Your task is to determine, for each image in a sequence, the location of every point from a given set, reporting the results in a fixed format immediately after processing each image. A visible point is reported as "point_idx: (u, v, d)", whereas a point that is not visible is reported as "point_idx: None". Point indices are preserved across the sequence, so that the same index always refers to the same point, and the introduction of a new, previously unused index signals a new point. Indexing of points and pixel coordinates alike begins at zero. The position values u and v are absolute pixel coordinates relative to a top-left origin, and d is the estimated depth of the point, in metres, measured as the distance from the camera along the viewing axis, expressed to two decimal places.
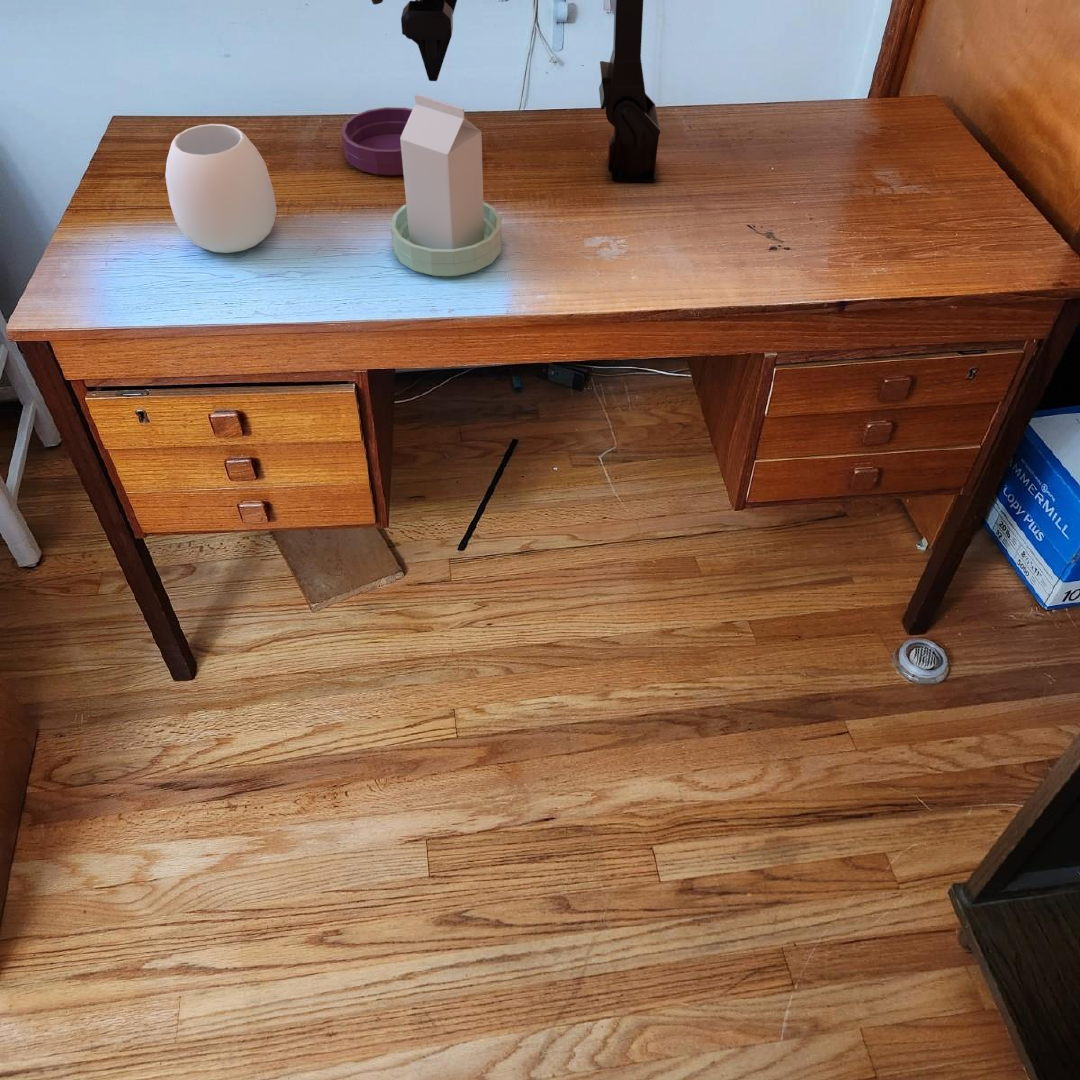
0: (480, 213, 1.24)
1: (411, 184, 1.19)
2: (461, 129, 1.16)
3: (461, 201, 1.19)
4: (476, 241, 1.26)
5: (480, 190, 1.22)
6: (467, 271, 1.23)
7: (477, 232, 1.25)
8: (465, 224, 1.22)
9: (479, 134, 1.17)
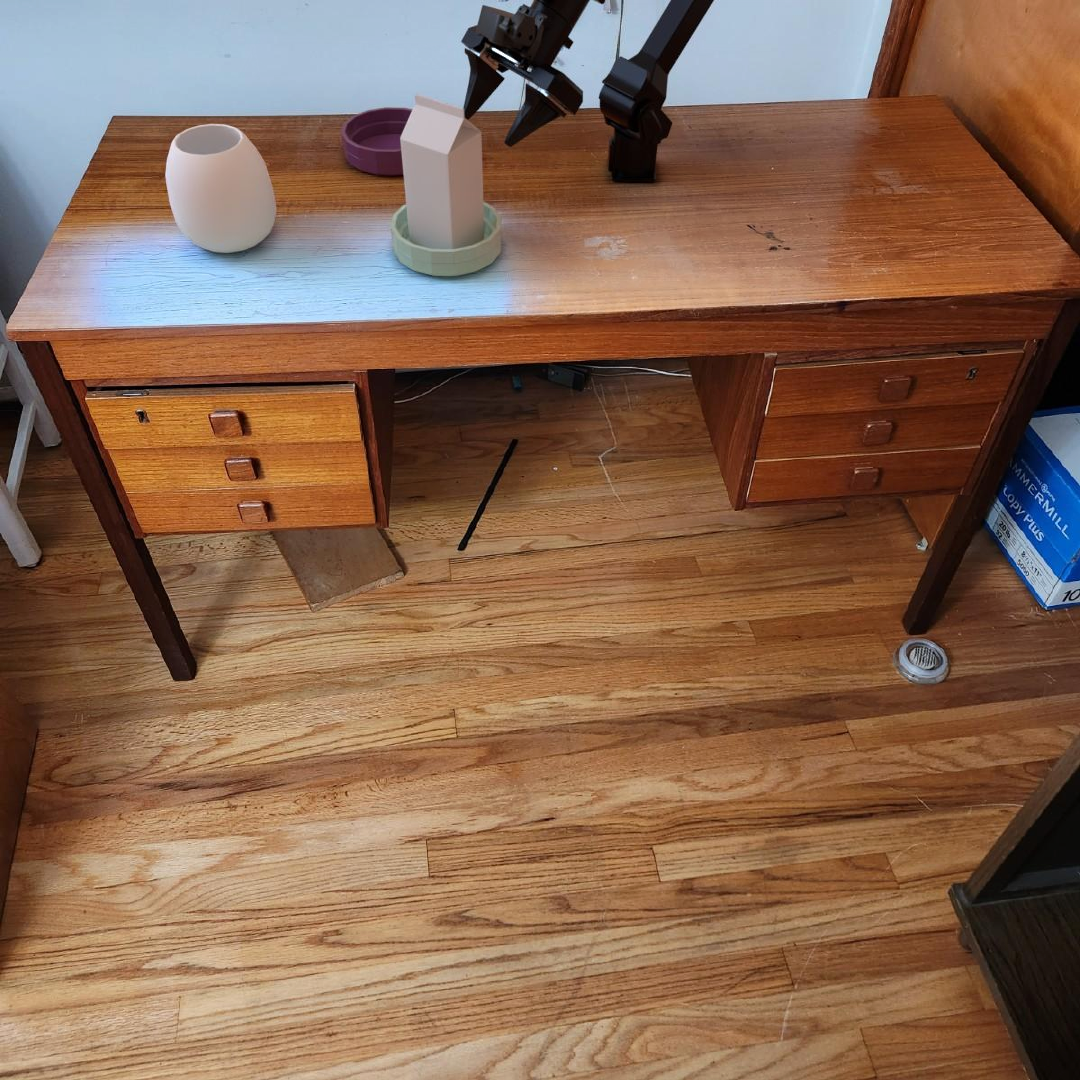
0: (480, 213, 1.24)
1: (411, 184, 1.19)
2: (461, 129, 1.16)
3: (461, 201, 1.19)
4: (476, 241, 1.26)
5: (480, 190, 1.22)
6: (467, 271, 1.23)
7: (477, 232, 1.25)
8: (465, 224, 1.22)
9: (479, 134, 1.17)
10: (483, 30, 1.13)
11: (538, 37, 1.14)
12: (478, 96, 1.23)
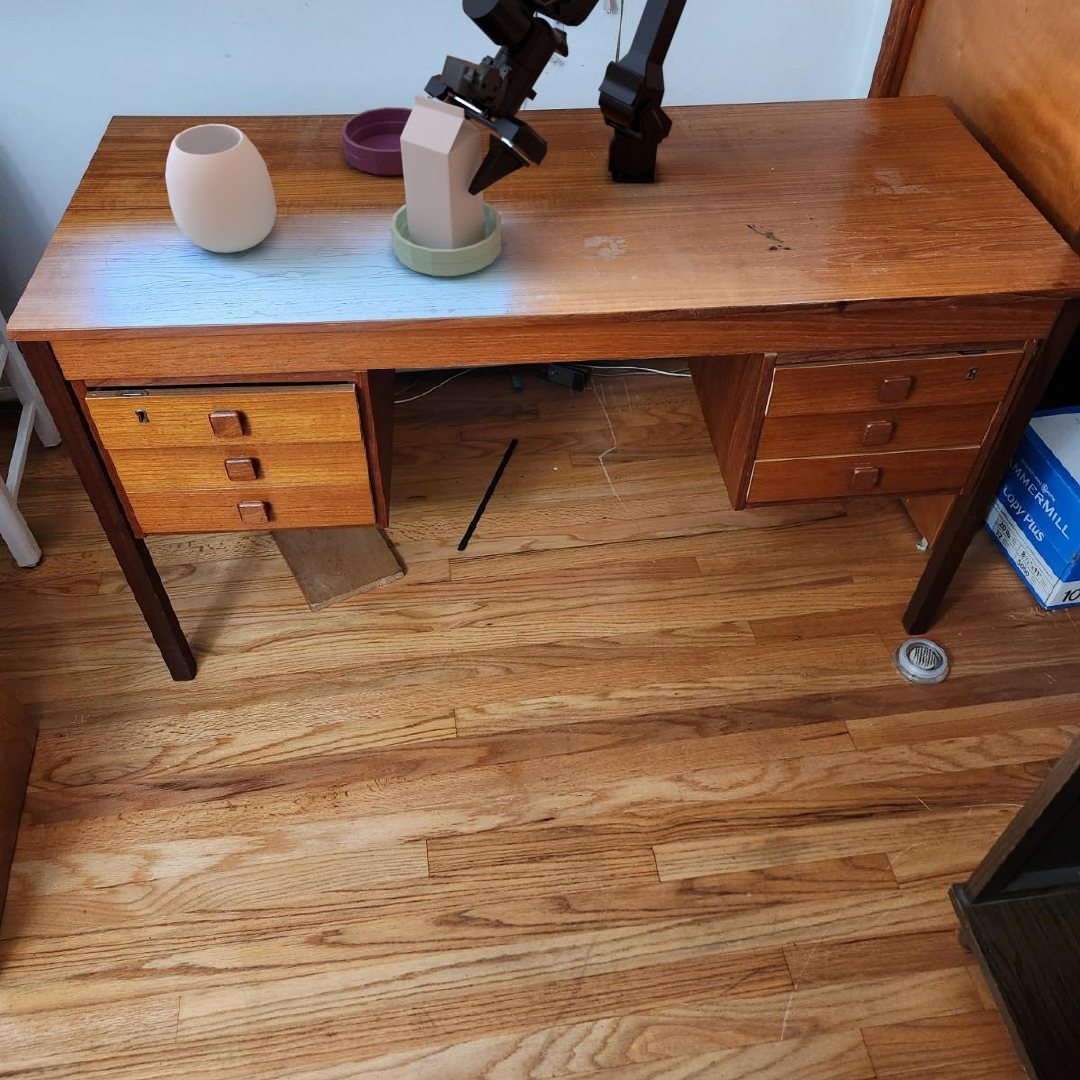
0: (480, 213, 1.24)
1: (411, 184, 1.19)
2: (461, 129, 1.16)
3: (461, 201, 1.19)
4: (476, 241, 1.26)
5: None
6: (467, 271, 1.23)
7: (477, 232, 1.25)
8: (465, 224, 1.22)
9: (479, 134, 1.17)
10: (447, 80, 1.12)
11: (502, 88, 1.14)
12: None
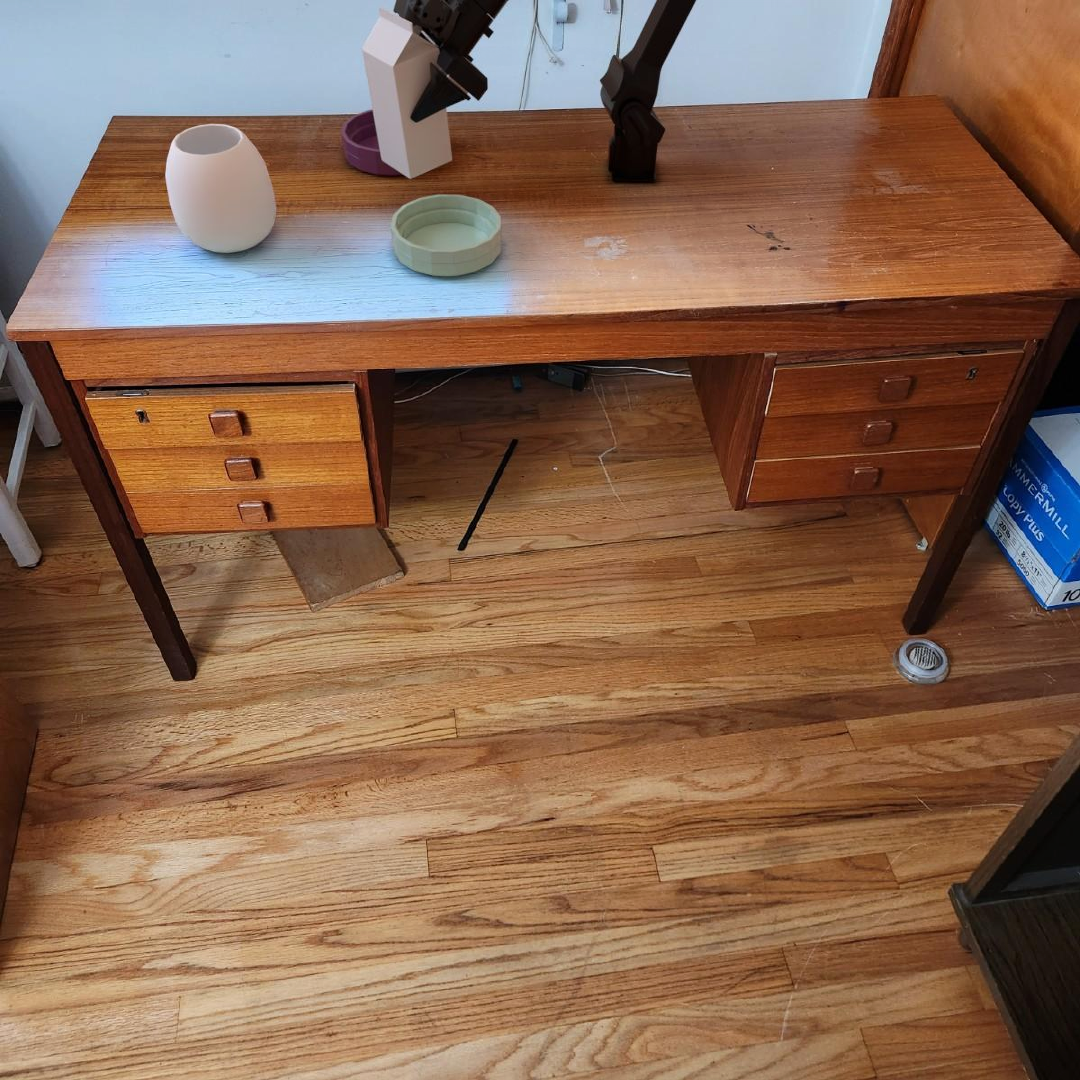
0: (444, 131, 1.28)
1: (374, 95, 1.24)
2: (419, 44, 1.20)
3: None
4: (440, 159, 1.30)
5: None
6: (467, 271, 1.23)
7: (441, 150, 1.29)
8: (423, 140, 1.26)
9: (436, 51, 1.20)
10: (398, 8, 1.17)
11: (451, 21, 1.18)
12: None
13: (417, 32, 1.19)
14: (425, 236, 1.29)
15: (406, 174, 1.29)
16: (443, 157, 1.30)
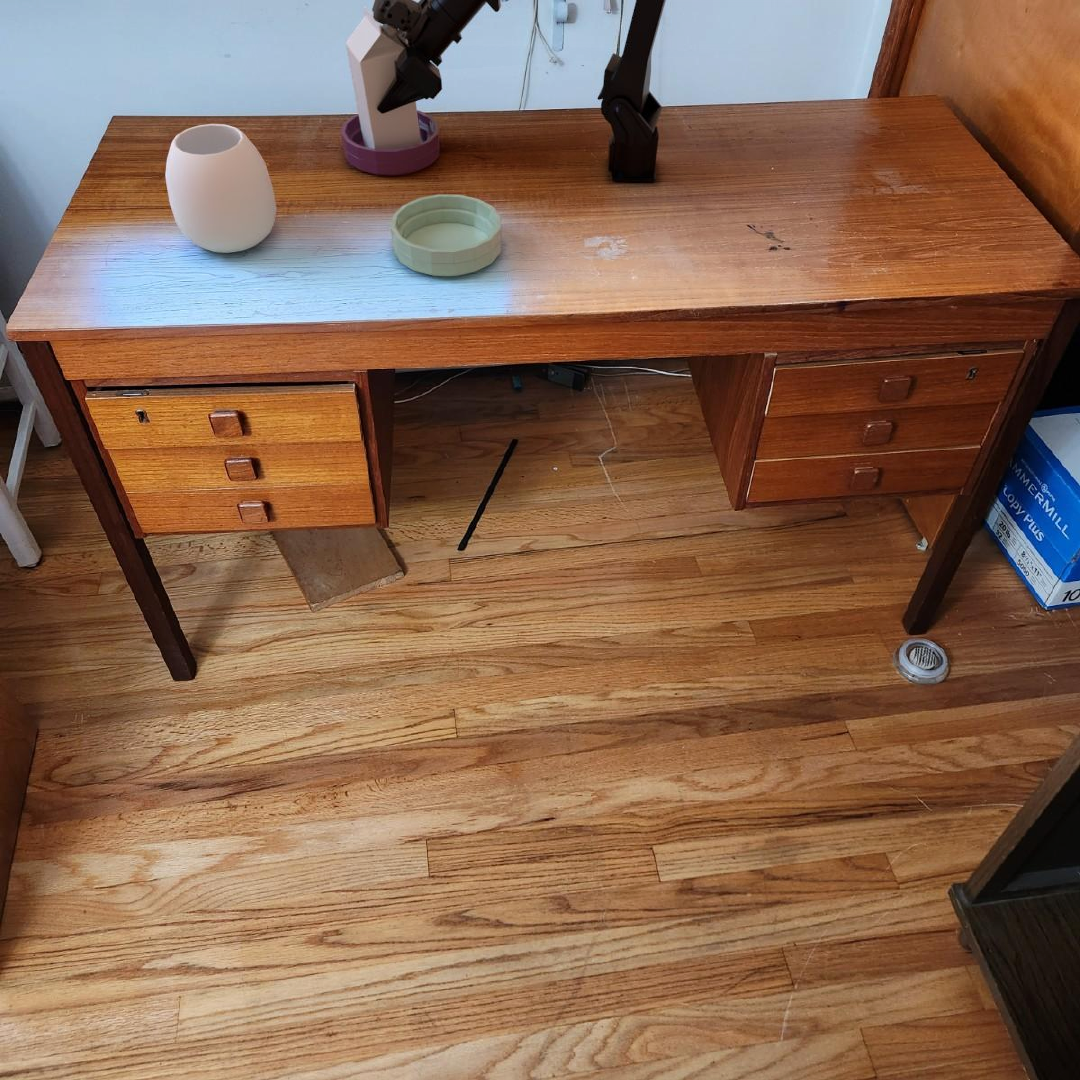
0: (413, 127, 1.39)
1: (354, 85, 1.37)
2: (392, 45, 1.32)
3: None
4: None
5: (412, 105, 1.37)
6: (467, 271, 1.23)
7: (411, 144, 1.41)
8: (391, 132, 1.38)
9: None
10: (374, 7, 1.30)
11: (419, 24, 1.29)
12: None
13: (392, 34, 1.31)
14: (425, 236, 1.29)
15: None
16: None
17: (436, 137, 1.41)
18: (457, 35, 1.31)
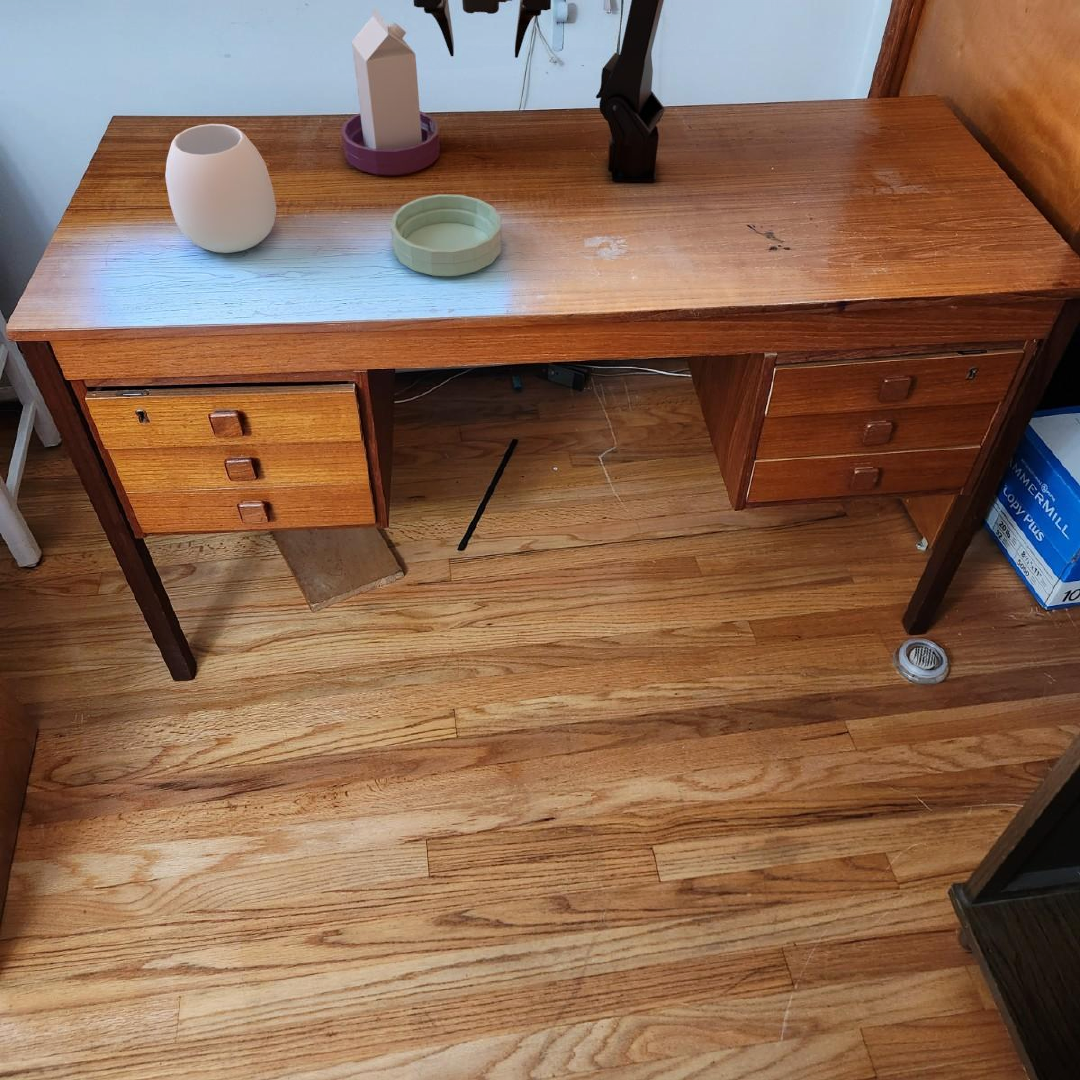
0: (415, 129, 1.39)
1: (358, 84, 1.37)
2: (398, 47, 1.32)
3: (387, 110, 1.36)
4: None
5: (415, 107, 1.37)
6: (467, 271, 1.23)
7: (412, 146, 1.41)
8: (393, 133, 1.38)
9: (412, 55, 1.32)
10: (477, 8, 1.26)
11: None
12: (451, 31, 1.36)
13: (399, 35, 1.32)
14: (425, 236, 1.29)
15: None
16: None
17: (436, 137, 1.41)
18: None
